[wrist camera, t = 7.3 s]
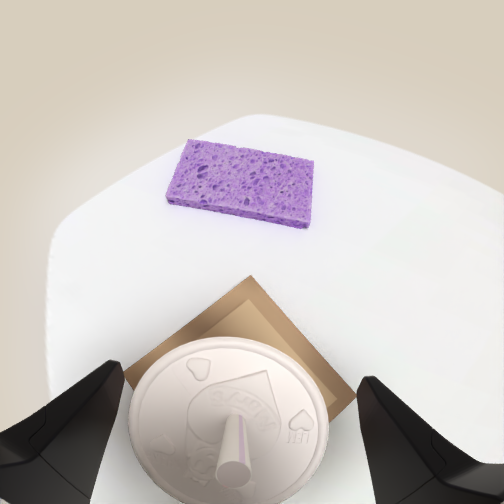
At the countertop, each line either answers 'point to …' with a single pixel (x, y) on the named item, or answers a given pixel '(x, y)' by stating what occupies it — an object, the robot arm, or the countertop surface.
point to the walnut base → (275, 322)
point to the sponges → (243, 183)
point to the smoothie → (228, 423)
